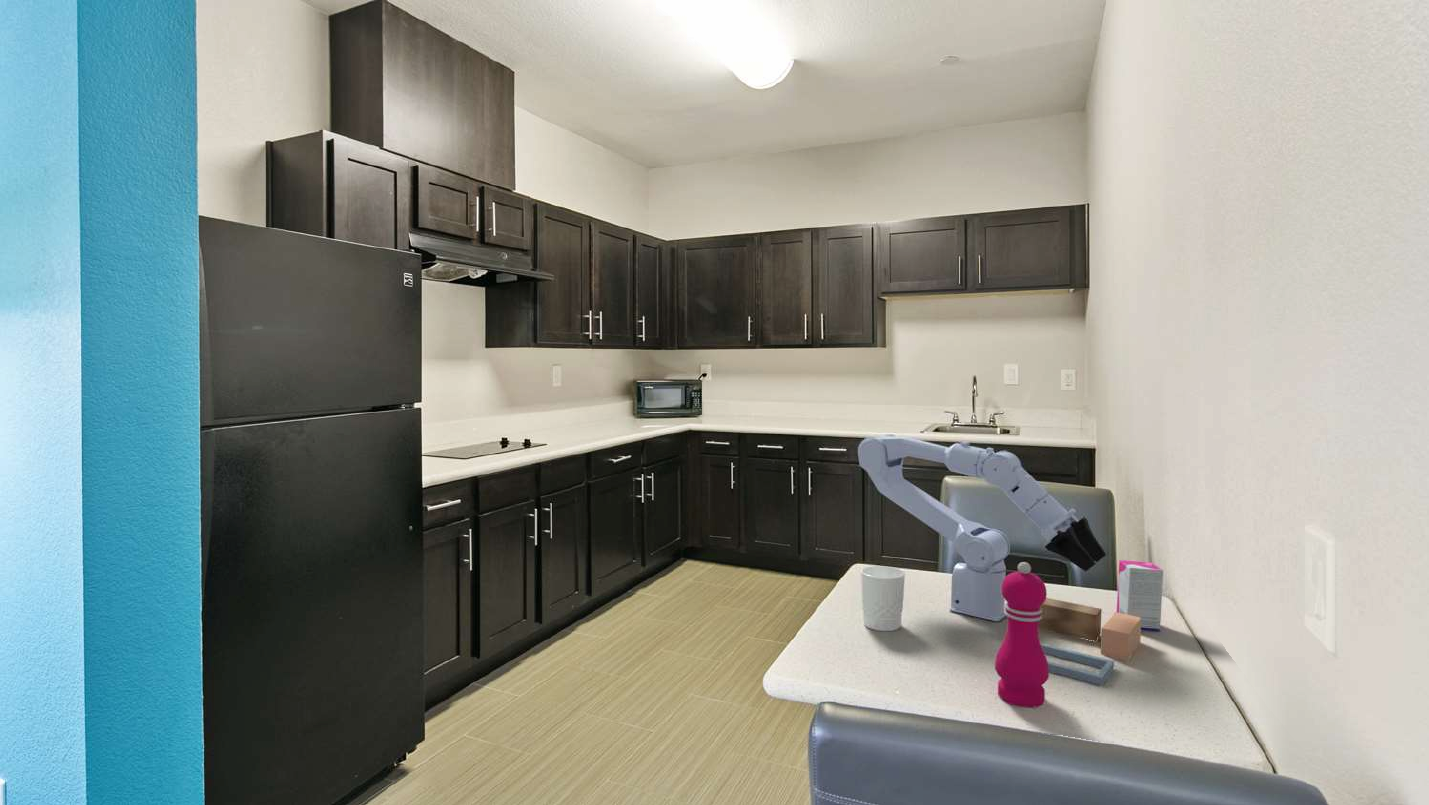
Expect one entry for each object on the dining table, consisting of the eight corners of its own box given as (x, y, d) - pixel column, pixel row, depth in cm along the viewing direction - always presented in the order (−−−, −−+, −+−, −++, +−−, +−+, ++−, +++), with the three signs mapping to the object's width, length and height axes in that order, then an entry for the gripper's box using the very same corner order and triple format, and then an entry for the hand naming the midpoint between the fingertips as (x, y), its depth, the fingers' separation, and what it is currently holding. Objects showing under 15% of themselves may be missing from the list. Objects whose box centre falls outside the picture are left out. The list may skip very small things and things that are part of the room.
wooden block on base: (1029, 627, 132) (1030, 601, 132) (1035, 621, 135) (1036, 595, 135) (1095, 643, 125) (1096, 615, 125) (1100, 636, 128) (1101, 608, 128)
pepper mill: (985, 687, 108) (988, 556, 106) (1031, 685, 108) (1035, 555, 107) (1009, 710, 100) (1012, 570, 99) (1058, 708, 101) (1062, 569, 100)
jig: (995, 664, 116) (995, 657, 115) (1023, 639, 126) (1023, 632, 126) (1096, 692, 106) (1097, 684, 106) (1118, 662, 117) (1118, 655, 116)
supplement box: (1161, 632, 130) (1164, 570, 129) (1125, 629, 131) (1128, 568, 130) (1149, 620, 135) (1151, 561, 135) (1115, 618, 136) (1117, 559, 136)
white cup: (856, 629, 131) (857, 575, 130) (864, 615, 138) (865, 564, 138) (900, 635, 128) (901, 580, 127) (906, 620, 135) (907, 568, 135)
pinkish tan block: (1100, 655, 120) (1101, 628, 120) (1114, 637, 128) (1115, 612, 127) (1127, 661, 117) (1128, 634, 117) (1140, 643, 125) (1141, 617, 125)
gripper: (1041, 495, 125) (1103, 557, 119) (1064, 484, 136) (1123, 541, 130) (1012, 521, 128) (1072, 582, 122) (1037, 508, 139) (1093, 564, 133)
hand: (1096, 563), depth 126 cm, fingers open, 7 cm apart
